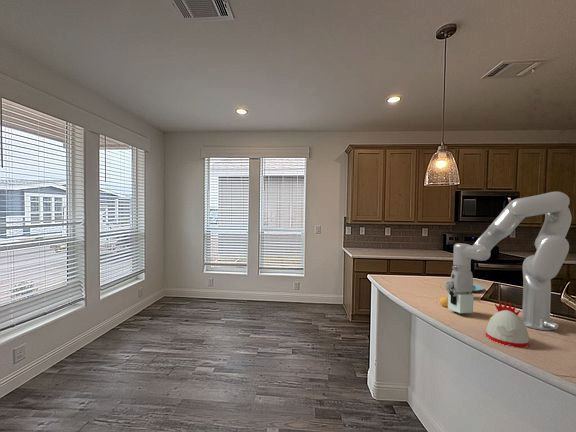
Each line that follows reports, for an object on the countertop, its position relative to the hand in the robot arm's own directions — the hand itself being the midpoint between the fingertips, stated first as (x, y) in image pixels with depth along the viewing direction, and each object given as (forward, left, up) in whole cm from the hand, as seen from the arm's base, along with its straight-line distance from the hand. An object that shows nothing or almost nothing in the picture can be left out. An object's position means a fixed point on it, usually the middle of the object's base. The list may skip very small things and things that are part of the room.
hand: (460, 303), depth 146 cm
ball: (+11, 0, -3) cm, 11 cm away
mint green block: (0, 0, -4) cm, 4 cm away
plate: (+41, -40, -6) cm, 58 cm away
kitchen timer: (-29, +5, -5) cm, 30 cm away
